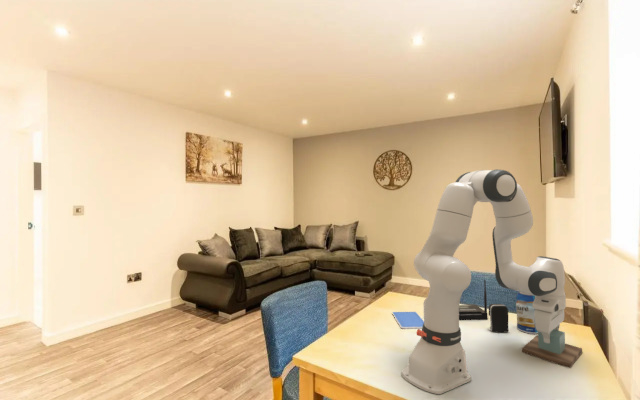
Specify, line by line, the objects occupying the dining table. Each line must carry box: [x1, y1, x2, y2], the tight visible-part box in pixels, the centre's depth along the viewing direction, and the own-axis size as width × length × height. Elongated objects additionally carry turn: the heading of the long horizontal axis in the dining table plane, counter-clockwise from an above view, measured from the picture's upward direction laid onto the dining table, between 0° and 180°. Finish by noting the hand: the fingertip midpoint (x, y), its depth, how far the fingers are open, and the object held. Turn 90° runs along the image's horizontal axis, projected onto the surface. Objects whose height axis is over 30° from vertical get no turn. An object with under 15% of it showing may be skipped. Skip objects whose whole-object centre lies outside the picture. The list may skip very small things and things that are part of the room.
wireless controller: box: [459, 279, 488, 321], centre depth 145 cm, size 20×14×17 cm
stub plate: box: [521, 335, 583, 369], centre depth 109 cm, size 16×14×5 cm
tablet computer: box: [391, 311, 424, 330], centre depth 142 cm, size 19×13×1 cm, turn 179°
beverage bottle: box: [515, 291, 538, 335], centre depth 128 cm, size 8×8×20 cm
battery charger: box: [488, 303, 509, 333], centre depth 128 cm, size 7×4×11 cm, turn 85°
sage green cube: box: [537, 330, 566, 354], centre depth 109 cm, size 6×6×6 cm
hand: (551, 338), depth 109 cm, fingers open, 8 cm apart
